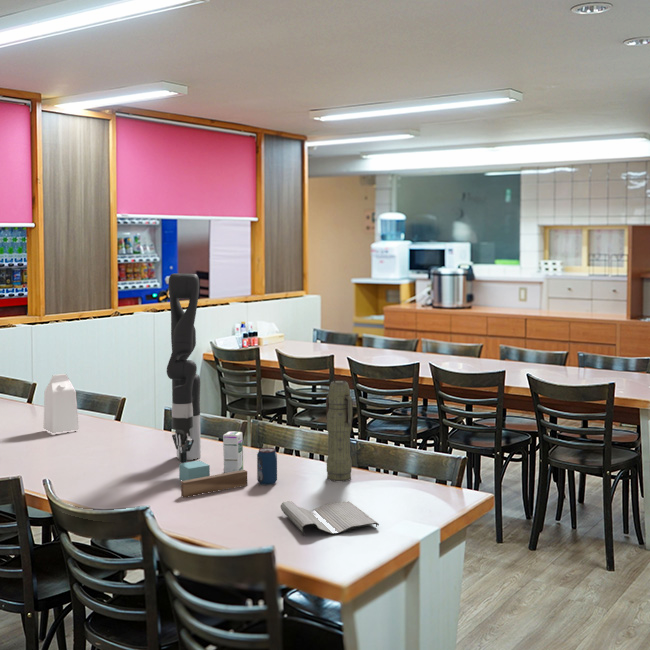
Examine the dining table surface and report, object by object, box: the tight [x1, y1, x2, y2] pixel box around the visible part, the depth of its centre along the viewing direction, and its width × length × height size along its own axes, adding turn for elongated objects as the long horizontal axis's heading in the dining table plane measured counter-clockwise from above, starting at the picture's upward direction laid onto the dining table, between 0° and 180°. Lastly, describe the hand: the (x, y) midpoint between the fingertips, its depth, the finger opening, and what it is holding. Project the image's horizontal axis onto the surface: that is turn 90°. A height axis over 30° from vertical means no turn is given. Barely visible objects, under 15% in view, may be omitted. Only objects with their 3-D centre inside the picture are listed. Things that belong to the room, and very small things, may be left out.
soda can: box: [256, 447, 278, 486], centre depth 275 cm, size 7×7×12 cm
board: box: [180, 469, 248, 498], centre depth 267 cm, size 2×24×5 cm, turn 127°
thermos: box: [325, 379, 354, 482], centre depth 281 cm, size 9×12×35 cm
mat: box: [280, 500, 380, 535], centre depth 236 cm, size 23×24×5 cm
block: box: [178, 460, 211, 481], centre depth 279 cm, size 8×8×6 cm
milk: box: [43, 373, 80, 433], centre depth 356 cm, size 12×12×26 cm
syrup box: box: [222, 430, 244, 473], centre depth 290 cm, size 6×6×14 cm
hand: (183, 462), depth 285 cm, fingers closed
